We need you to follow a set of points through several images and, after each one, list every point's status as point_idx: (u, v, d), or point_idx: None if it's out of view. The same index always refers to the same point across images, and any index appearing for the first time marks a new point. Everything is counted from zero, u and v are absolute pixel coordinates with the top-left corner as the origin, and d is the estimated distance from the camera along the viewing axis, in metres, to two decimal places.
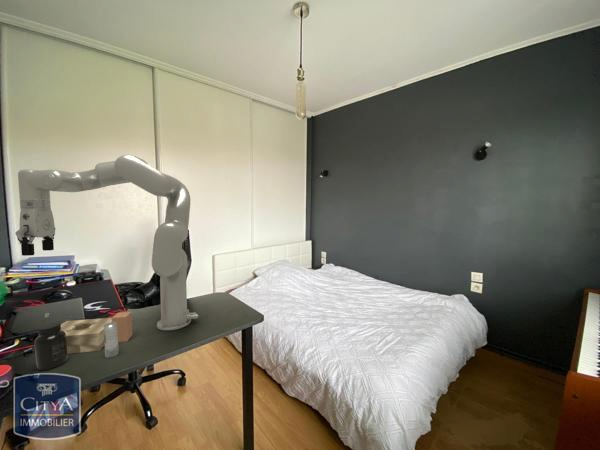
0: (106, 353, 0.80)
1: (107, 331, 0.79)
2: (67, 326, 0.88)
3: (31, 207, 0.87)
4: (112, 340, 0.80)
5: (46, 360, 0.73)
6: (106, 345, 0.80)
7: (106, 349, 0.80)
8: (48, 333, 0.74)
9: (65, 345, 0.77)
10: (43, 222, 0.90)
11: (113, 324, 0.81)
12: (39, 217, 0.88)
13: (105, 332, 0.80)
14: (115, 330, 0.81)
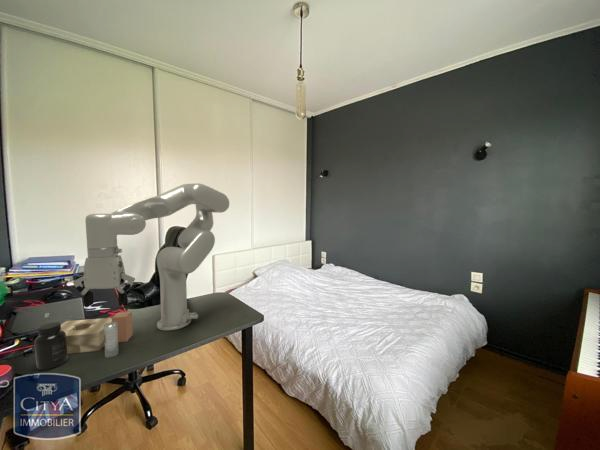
0: (106, 353, 0.80)
1: (107, 331, 0.79)
2: (67, 326, 0.88)
3: (117, 254, 0.82)
4: (112, 340, 0.80)
5: (46, 360, 0.73)
6: (106, 345, 0.80)
7: (106, 349, 0.80)
8: (48, 333, 0.74)
9: (65, 345, 0.77)
10: None
11: (113, 324, 0.81)
12: None
13: (105, 332, 0.80)
14: (115, 330, 0.81)
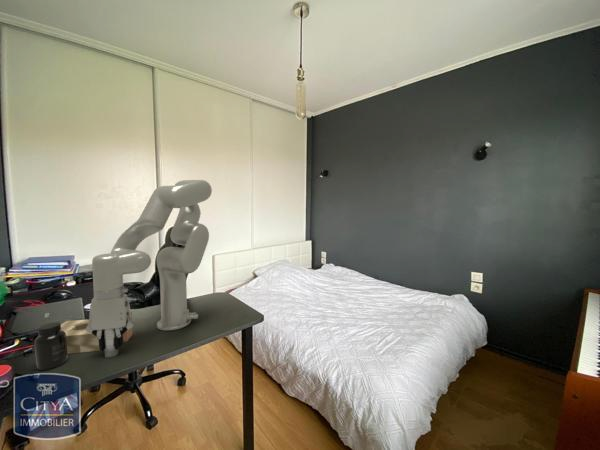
0: (106, 353, 0.80)
1: (107, 331, 0.79)
2: (67, 326, 0.88)
3: (123, 293, 0.82)
4: (112, 340, 0.80)
5: (46, 360, 0.73)
6: (106, 345, 0.80)
7: (106, 349, 0.80)
8: (48, 333, 0.74)
9: (65, 345, 0.77)
10: None
11: None
12: None
13: (105, 332, 0.80)
14: None
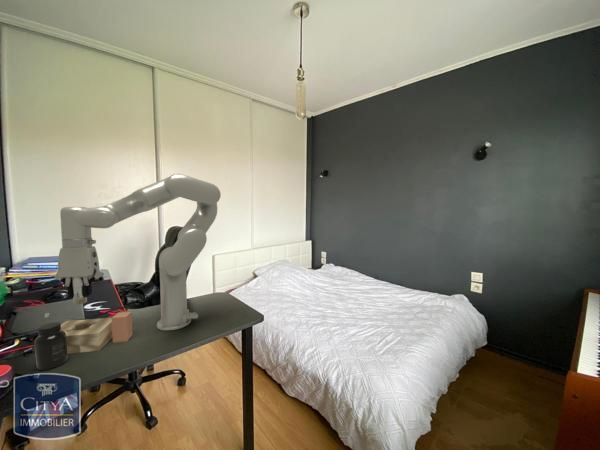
0: (74, 300, 0.85)
1: (75, 279, 0.84)
2: (67, 326, 0.88)
3: (91, 244, 0.87)
4: (79, 288, 0.85)
5: (46, 360, 0.73)
6: (74, 292, 0.84)
7: (74, 296, 0.85)
8: (48, 333, 0.74)
9: (65, 345, 0.77)
10: None
11: None
12: None
13: (73, 280, 0.84)
14: None
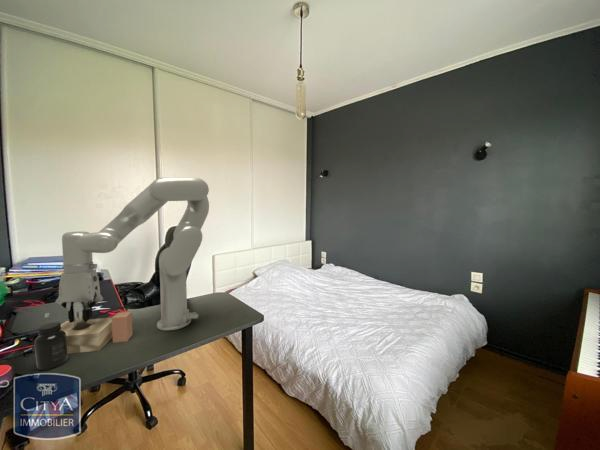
0: (75, 324, 0.85)
1: (75, 303, 0.85)
2: (67, 326, 0.88)
3: (92, 269, 0.87)
4: (80, 312, 0.85)
5: (46, 360, 0.73)
6: (75, 317, 0.85)
7: (75, 321, 0.85)
8: (48, 333, 0.74)
9: (65, 345, 0.77)
10: None
11: None
12: None
13: (74, 305, 0.85)
14: None
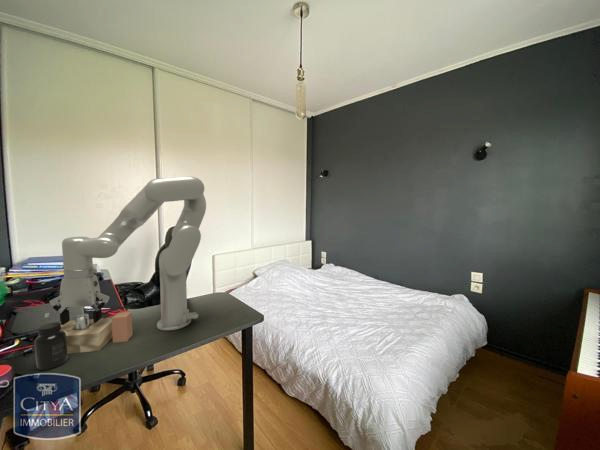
0: None
1: (78, 321, 0.85)
2: (67, 326, 0.88)
3: None
4: None
5: (46, 360, 0.73)
6: None
7: None
8: (48, 333, 0.74)
9: (65, 345, 0.77)
10: None
11: (84, 315, 0.87)
12: None
13: (76, 322, 0.85)
14: (86, 321, 0.87)
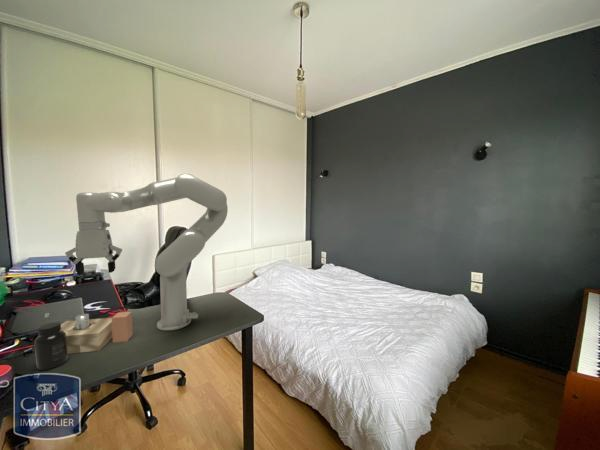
0: None
1: (78, 321, 0.85)
2: (67, 326, 0.88)
3: (105, 228, 0.94)
4: None
5: (46, 360, 0.73)
6: None
7: None
8: (48, 333, 0.74)
9: (65, 345, 0.77)
10: None
11: (85, 315, 0.87)
12: None
13: (76, 322, 0.85)
14: (86, 321, 0.87)
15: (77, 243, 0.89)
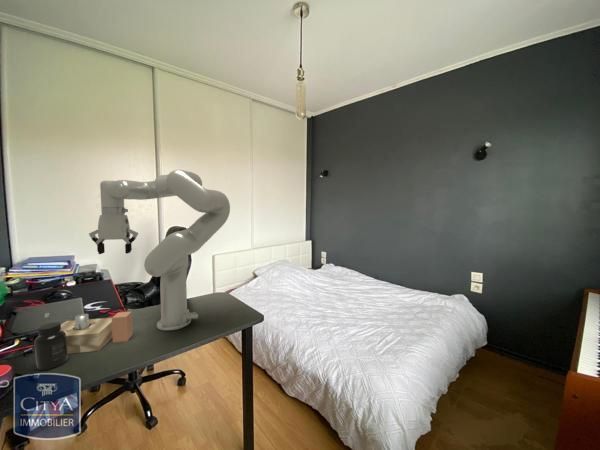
0: None
1: (78, 321, 0.85)
2: (67, 326, 0.88)
3: (124, 213, 1.04)
4: None
5: (46, 360, 0.73)
6: None
7: None
8: (48, 333, 0.74)
9: (65, 345, 0.77)
10: None
11: (84, 315, 0.87)
12: None
13: (76, 322, 0.85)
14: (86, 321, 0.87)
15: (99, 225, 1.00)
